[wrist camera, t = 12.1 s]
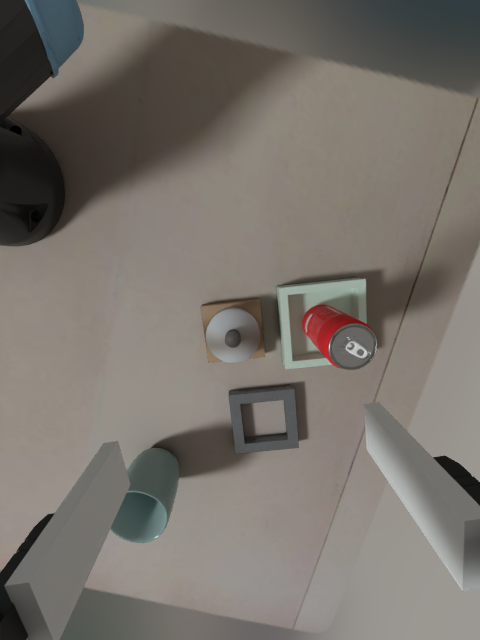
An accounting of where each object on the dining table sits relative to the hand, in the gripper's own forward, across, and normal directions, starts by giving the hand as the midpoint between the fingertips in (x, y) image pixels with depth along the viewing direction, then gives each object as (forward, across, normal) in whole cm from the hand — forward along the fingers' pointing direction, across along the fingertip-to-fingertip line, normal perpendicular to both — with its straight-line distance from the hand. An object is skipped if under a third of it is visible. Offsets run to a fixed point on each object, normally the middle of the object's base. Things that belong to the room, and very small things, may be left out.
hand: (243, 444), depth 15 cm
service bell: (+26, -1, 0) cm, 26 cm away
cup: (+26, -16, -20) cm, 36 cm away
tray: (+26, +11, -1) cm, 28 cm away
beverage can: (+25, +11, -1) cm, 27 cm away
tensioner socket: (+25, +2, -15) cm, 29 cm away
